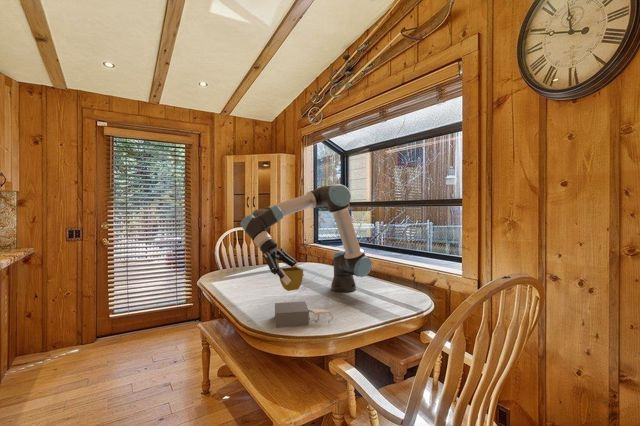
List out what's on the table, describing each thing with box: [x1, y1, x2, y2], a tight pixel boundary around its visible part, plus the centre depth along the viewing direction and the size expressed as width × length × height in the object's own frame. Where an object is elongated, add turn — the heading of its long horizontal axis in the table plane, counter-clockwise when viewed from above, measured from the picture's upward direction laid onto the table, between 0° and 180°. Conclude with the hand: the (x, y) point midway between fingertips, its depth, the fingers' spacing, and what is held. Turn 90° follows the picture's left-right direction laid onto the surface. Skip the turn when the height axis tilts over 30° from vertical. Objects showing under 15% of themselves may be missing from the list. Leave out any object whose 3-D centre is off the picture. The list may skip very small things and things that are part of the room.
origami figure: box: [308, 308, 334, 325], centre depth 135 cm, size 12×8×5 cm
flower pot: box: [279, 266, 304, 292], centre depth 137 cm, size 9×9×9 cm
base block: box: [274, 300, 310, 328], centre depth 137 cm, size 14×14×6 cm
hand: (295, 279), depth 136 cm, fingers closed on flower pot, 12 cm apart
